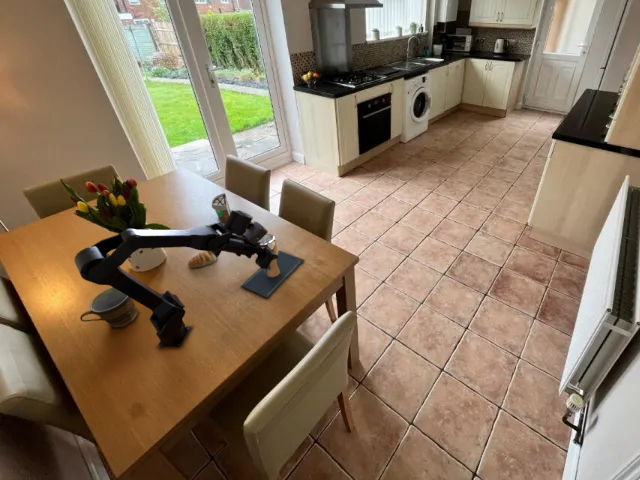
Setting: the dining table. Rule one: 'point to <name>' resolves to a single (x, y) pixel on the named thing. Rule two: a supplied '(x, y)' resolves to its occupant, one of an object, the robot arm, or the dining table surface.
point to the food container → (221, 207)
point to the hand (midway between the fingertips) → (272, 252)
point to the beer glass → (274, 265)
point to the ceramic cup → (112, 308)
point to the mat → (269, 285)
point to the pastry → (202, 259)
